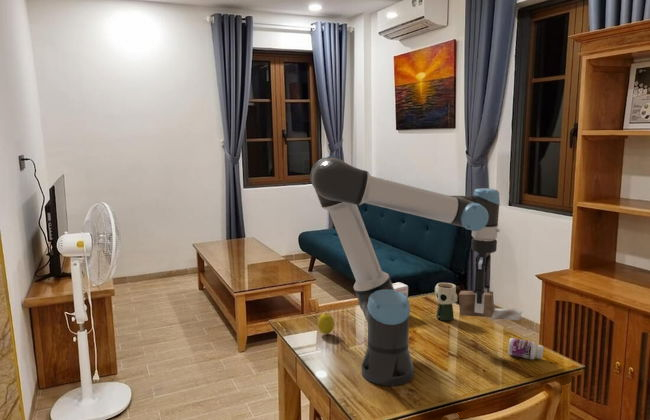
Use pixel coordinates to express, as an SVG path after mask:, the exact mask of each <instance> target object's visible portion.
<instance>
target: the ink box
mask: <svg viewBox="0 0 650 420" xmlns="http://www.w3.org/2000/svg"><path fill="white" fill-rule="evenodd" d="M392 285H393V288H394V290H395V291H398V292H401V293H402V294H404V295H405V296H406V297H407V298H408V297H409V286H408V285H407V284H405V283H403V282H398V281H397V282H395V283H393V282H392Z"/></svg>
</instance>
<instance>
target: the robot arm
mask: <svg viewBox="0 0 650 420" xmlns="http://www.w3.org/2000/svg"><path fill="white" fill-rule="evenodd" d="M309 175H310V176H309V178H310V179H309V180H310V182H311V183H310V184H311V185H312V187H313V189H314V191H315V193H316V195H317V198H318V201H319V203H320V206H321V208H322V209H324V210H327V211H328V213H329V215H330V217H331V220H332V223H333V225H334V228H335V230H336V233H337V236H338V239H339V240H340V244H341V246H342V248H343V251H344V253H345V256H346V258H347V261H348V265H349V266H350V270H351V272H352V274H353V277H354V279H355V283H354V285H353V290H354V293H355V295H356V298H357V301H358V304H359V307H360V309H361V311H362V312H363V316H364V317H365V320H366V322H367V347H366V351H365V354H364V357H363V359H362V362H361V372H360V373H361V375H362V377H363V378H364V379H365V380H366V381H368V382H369V383H373V384H375V385H380V386H387V387H389V386H391V387H394V386H401V385H404V384H407V383H409V382H410V381H412V380H413V378H414V376H415V365H414V363H413V360H412V356H411V354H410V351H409V341H410V339H409V338H410V337H409V334H410V314H411V313H410V312H411V307H410V301H409V299H408V298H407V297H406V296H405V295H404V294H402V293H401V292H398V291H395V290H394V288H393V285H392V284H393V282H392V279H391V277H390V275H389V273H387V272H385V271H383V270H382V268H381V266H380V263H379V260H378V257H377V254H376V252H375V249H374V245H373V244H372V240H371V238H370V236H369V234H368V230H367V229H366V225H365V222H364V220H363V218H362V215H361V212H360V209H359V207H358V206H361V205H363V204H367V205H372V206H376V207H380V208H384V209H385V208H386V209H389V210H392V211H397V212H400V213H405V214H410V215H412V216H413V215H414V216H418V217H421V218H426V219H430V220H434V221H439V222H442V223H446V224H450V225H453V226H458V227H461V228H465V230H468V231H471V237H472V238H471V245H470V246H471V247H470V248H471V250H472V251H473V252H477V253H478V254H477V256H476V257H475V277H474V278H475V280H474V290H472V291H473V293H475V310H474V312H476V313H482V314H483V313H484V298H485V293H484V291H488V289H490V285H489V269H490V261H491V254H494V253H496V252H497V245H498V244H497V243H498V240H497V239H498V233H500V228H498V226H499V212H500V205H501V204H500V201H501V200H500V192H499V190H497V189H495V188H487V187H486V188H483V187H480V188H475V189H474V192H473V194H471V195H449V194H444V193H439V192H436V191H433V190H427V189H424V188H419V187H415V186H411V185H408V184H404V183H400V182H398V181H397V182H396V181H394V180H393V181H392V180H389V179H384V178H380V177H376V176H372V175H371V174H370V172H369V171H368V170H366V169H360V168H357V167H355V166H352V165H350V164H349V163H348V162H345V161H344V160H343V159H341V158H339V157H338V156H332V155H331V156H326V157H322V158H321V159H318V160H317V161H316V162H315V163H314V165H313V166H312V168H311V171H310V174H309Z"/></svg>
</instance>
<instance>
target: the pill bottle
mask: <svg viewBox="0 0 650 420" xmlns="http://www.w3.org/2000/svg"><path fill="white" fill-rule="evenodd" d="M507 350H508V351H507V353H508V355H509V356H512V357H519V358H523V359H529V360H535V358H537V359H539V360H543V357H544V356H543V354H544V346H543V345H541V344H538V345H537V344H536V342H535V341H532V340H525V339H519V338H515V337H511V338H509V341H508V349H507Z"/></svg>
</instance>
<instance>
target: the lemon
mask: <svg viewBox="0 0 650 420" xmlns="http://www.w3.org/2000/svg"><path fill="white" fill-rule="evenodd" d="M334 326H335V323H334V318H333V316H332V315H331V314H330V313H327V312H324V313H322V314H320V316H319V317H318V320H317V328H318V330H319V332H320V333H321V334H324V335H325V336H327V335H328V334H331V333H332V331H333V330H334V328H335V327H334Z"/></svg>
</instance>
